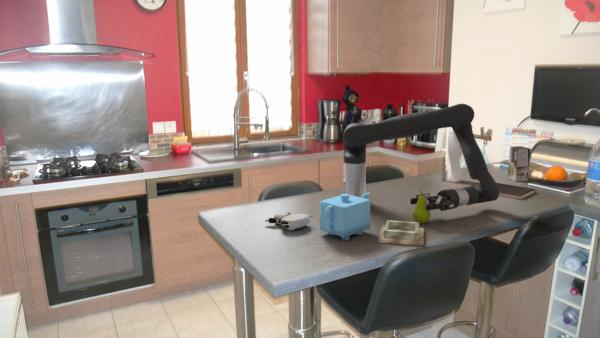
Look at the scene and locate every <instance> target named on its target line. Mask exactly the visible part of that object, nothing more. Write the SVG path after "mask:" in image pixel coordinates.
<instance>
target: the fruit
mask: <svg viewBox="0 0 600 338" xmlns="http://www.w3.org/2000/svg"><path fill="white" fill-rule="evenodd" d="M419 192H420V193H421V194H422V195H421V196H420V197H419V199H418V201H417V204H415V208H414V210H413V212H412V218H413V220H414V221H415V222H419V224H425V223H427V222H428V221H430V220H429V219H430V218H431V210H429V211H427V210H426V203H425V198H424V195H423V194H424V193H423V192H422V190H421V189H420V190H419Z"/></svg>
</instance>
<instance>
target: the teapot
mask: <svg viewBox="0 0 600 338" xmlns="http://www.w3.org/2000/svg"><path fill="white" fill-rule="evenodd" d="M370 194H371V192H369V191H368V192H365V193H364V194H363V195H362V197H356V196H352V195H348V194H343V193H341V194H340V195H337V196H333V197H330V198H326V199H323V200H319V230H321V231H323V232H326V234H327V235H328V234H329V235H328V236H334V235H335V236H337V237H340V238H341V240H342V241H349V240H351V238H350V236H353V235H357V236H362V235H364V231H366V230H369V229H371V199H368V198H367V197H368V196H369V195H370Z"/></svg>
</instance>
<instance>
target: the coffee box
mask: <svg viewBox="0 0 600 338" xmlns="http://www.w3.org/2000/svg"><path fill="white" fill-rule="evenodd" d="M531 150H532V149H531V148H529V147H526V146H522V145H519V146H518V145H517V146H509V153H508V155H509V156H508V166H507V167H508V168H507V169H508V170H507V178H508V179H510V180H512V181H514V182H528V181H529V174H530V173H529V172H530V161H531V160H530V159H531Z"/></svg>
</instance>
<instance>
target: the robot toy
mask: <svg viewBox="0 0 600 338" xmlns="http://www.w3.org/2000/svg"><path fill="white" fill-rule="evenodd" d="M313 217H315V215H314V214H313V215H308V214H305V213H294V214H291V212H279V213H277V214H273V217H269V218H266V219H265V220H264V221H265V222H266V223H268V224H276V225H277V224H280V225H279V226H280V227H281V228H284V229H286V230H288V231H290V230H292V231H295V230H296V229H299V228H303V227H305V226H307V225H308V224H310V223H311V222H310V221H311V219H310V218H313Z"/></svg>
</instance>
